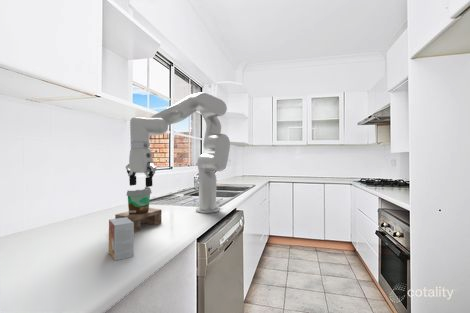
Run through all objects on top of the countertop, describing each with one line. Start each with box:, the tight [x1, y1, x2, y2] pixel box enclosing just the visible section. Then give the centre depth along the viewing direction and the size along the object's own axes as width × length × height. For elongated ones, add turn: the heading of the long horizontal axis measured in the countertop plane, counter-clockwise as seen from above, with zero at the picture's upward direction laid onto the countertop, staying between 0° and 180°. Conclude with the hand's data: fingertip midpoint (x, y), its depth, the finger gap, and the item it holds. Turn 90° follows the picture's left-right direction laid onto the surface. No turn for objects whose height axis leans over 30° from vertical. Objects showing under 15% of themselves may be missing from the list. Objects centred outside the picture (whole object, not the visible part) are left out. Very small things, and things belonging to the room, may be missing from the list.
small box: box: [108, 217, 135, 262], centre depth 76 cm, size 8×6×10 cm
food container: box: [126, 186, 152, 214], centre depth 105 cm, size 12×6×10 cm, turn 163°
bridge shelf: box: [114, 207, 163, 233], centre depth 106 cm, size 16×10×6 cm, turn 153°
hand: (140, 185), depth 106 cm, fingers open, 9 cm apart
